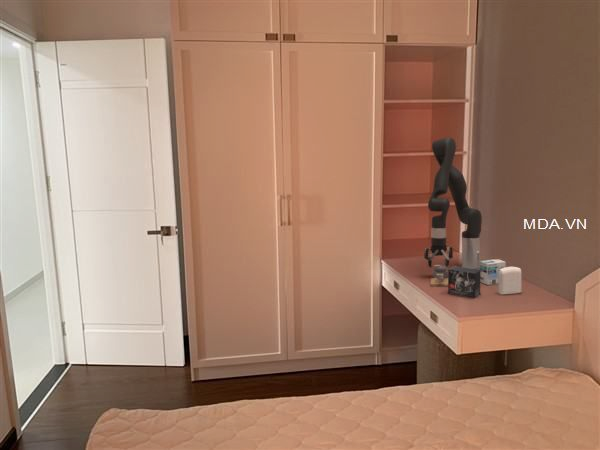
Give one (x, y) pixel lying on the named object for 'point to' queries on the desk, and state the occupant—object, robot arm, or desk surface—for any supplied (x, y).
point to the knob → (440, 271)
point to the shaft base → (437, 284)
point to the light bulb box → (491, 270)
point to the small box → (464, 281)
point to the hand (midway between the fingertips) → (438, 266)
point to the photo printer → (509, 280)
